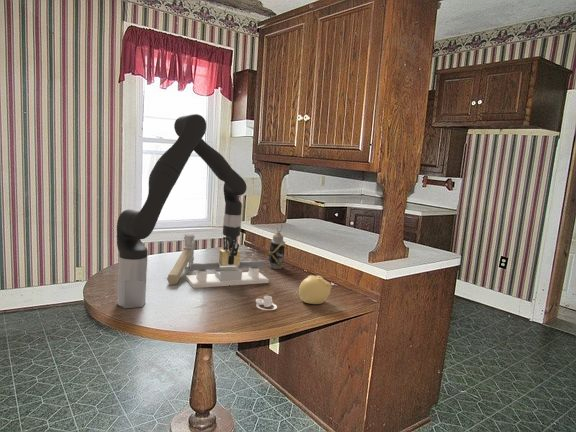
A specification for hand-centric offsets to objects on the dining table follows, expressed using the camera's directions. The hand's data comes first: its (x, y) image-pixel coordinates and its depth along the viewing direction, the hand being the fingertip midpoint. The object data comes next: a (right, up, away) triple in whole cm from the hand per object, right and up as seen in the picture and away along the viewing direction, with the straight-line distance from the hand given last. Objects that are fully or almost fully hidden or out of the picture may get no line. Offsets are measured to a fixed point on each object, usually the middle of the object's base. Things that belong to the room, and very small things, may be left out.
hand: (229, 262), depth 179 cm
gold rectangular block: (0, 0, 0) cm, 1 cm away
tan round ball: (+36, -14, -14) cm, 41 cm away
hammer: (-22, -6, +3) cm, 23 cm away
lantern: (+19, -6, +30) cm, 36 cm away
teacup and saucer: (+18, -14, -20) cm, 31 cm away
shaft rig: (-1, -8, +1) cm, 8 cm away
